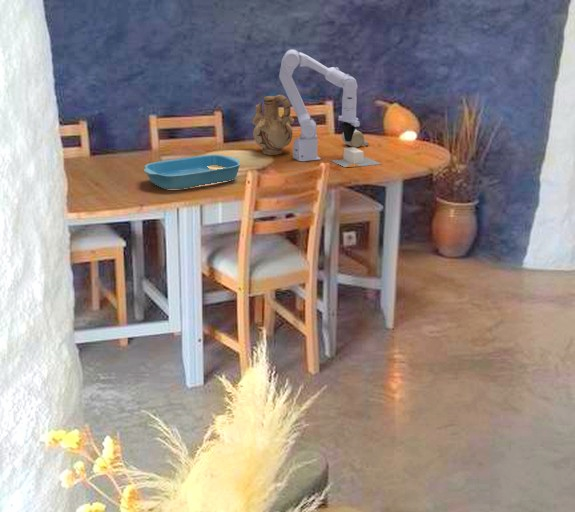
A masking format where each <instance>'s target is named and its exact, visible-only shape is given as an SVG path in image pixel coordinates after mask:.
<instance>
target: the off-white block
mask: <svg viewBox="0 0 575 512" xmlns="http://www.w3.org/2000/svg"><path fill="white" fill-rule="evenodd" d="M342 151H343V152H342V154H343V155H342V160H343V159H344V160H346V161H349V162H351V163H353V164H356V163H363V161H364V157H365V156H364V155H365V152H364V150H361V149H359V148H355V147H351V146H349V147H343V149H342Z"/></svg>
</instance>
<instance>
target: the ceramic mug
mask: <svg viewBox="0 0 575 512" xmlns="http://www.w3.org/2000/svg"><path fill="white" fill-rule="evenodd" d="M341 140H342V141H343V144H346V145H348V146H349V147H354V148H356V149H358V148H359V147H361V146H362V145H364V146H365V147H367V146H368V145H369V142H368V141H366V140H365V137H364V134H363V132H361V131H359V130H358V129H357V128H356V129H355V131H354V133H353V137H352V140H351V141H349V142H346V141H345V137H344V133H343V132H342V135H341Z"/></svg>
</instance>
